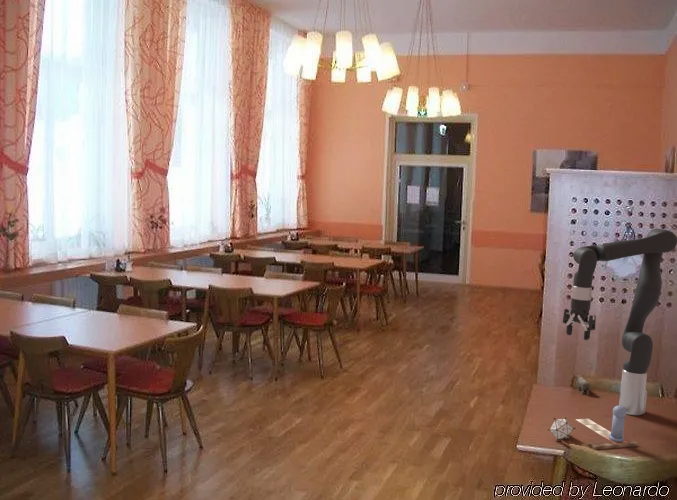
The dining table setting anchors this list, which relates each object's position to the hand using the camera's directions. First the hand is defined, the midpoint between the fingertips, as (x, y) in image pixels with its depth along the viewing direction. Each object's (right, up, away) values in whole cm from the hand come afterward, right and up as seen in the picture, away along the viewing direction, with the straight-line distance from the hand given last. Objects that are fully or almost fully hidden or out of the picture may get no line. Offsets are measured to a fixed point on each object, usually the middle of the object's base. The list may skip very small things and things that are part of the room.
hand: (577, 337), depth 290 cm
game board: (-1, -33, -22) cm, 40 cm away
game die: (-16, -34, -29) cm, 47 cm away
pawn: (+4, -33, -30) cm, 45 cm away
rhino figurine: (+12, -28, +30) cm, 42 cm away
